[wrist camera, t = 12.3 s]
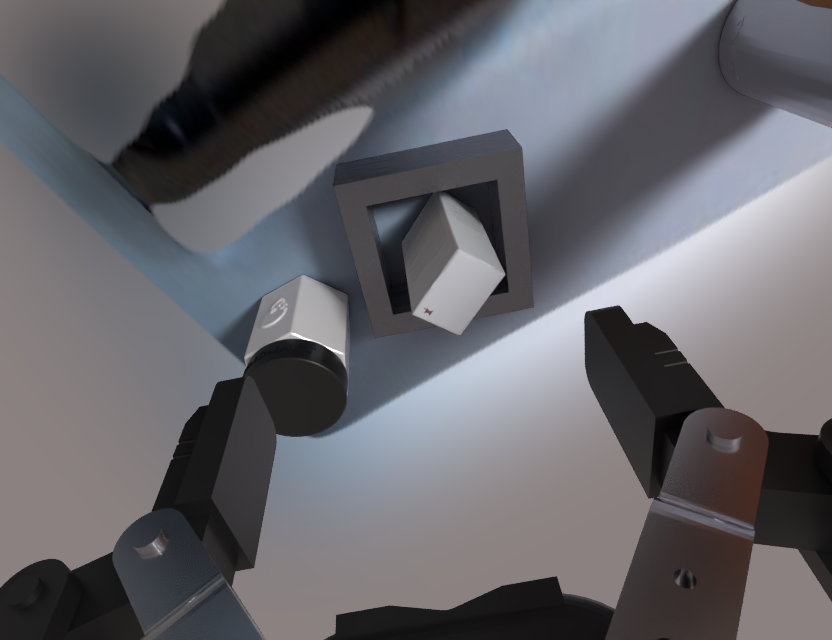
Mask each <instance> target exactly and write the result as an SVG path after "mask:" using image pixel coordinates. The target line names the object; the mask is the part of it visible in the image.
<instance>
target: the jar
mask: <svg viewBox="0 0 832 640" xmlns="http://www.w3.org/2000/svg"><path fill="white" fill-rule="evenodd" d="M349 356H350V320H349V305H348V295H347V294H345V293H343V292H341V291H339V290H336V289H334V288H332V287H330V286H328V285H325V284H323V283H321V282H319V281H316V280H314V279H312V278H310V277H308V276H305V275H301V276H299V277H297V278H295V279H293V280H292V281H290V282H288V283H286V284H284V285H283V286H281V287H279V288H277V289H276V290H274V291H272V292H270V293H268V294H267V295H265V296H263V297H262V300H261V303H260V307H259V310H258V313H257V317H256V320H255V323H254V326H253V330H252V333H251V336H250V340H249V343H248V346H247V350H246V353H245V356H244V360H245V365H246V369H245V371H244V374H243V377H246V376H250V377H252V378H253V380H254V381H255V383H256V385H257V387H258V390H259V392H260V394H261V396H262V398H263V400H264V403H265V405H266V407H267V409H268V411H269V414H270V416H271V418H272V420H273V423H274V426H275V431H276V434H279V435H283V436H291V437H301V436H309V435H313V434H317V433H320V432H322V431H324V430H326V429H328V428H329V427H331V426H332V425H334V424H335V423H336V422H337V421H338V420H339V419H340V417H341V416H342V414H343V412H344V410H345V408H346V404H347V396H348V380H349Z"/></svg>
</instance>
